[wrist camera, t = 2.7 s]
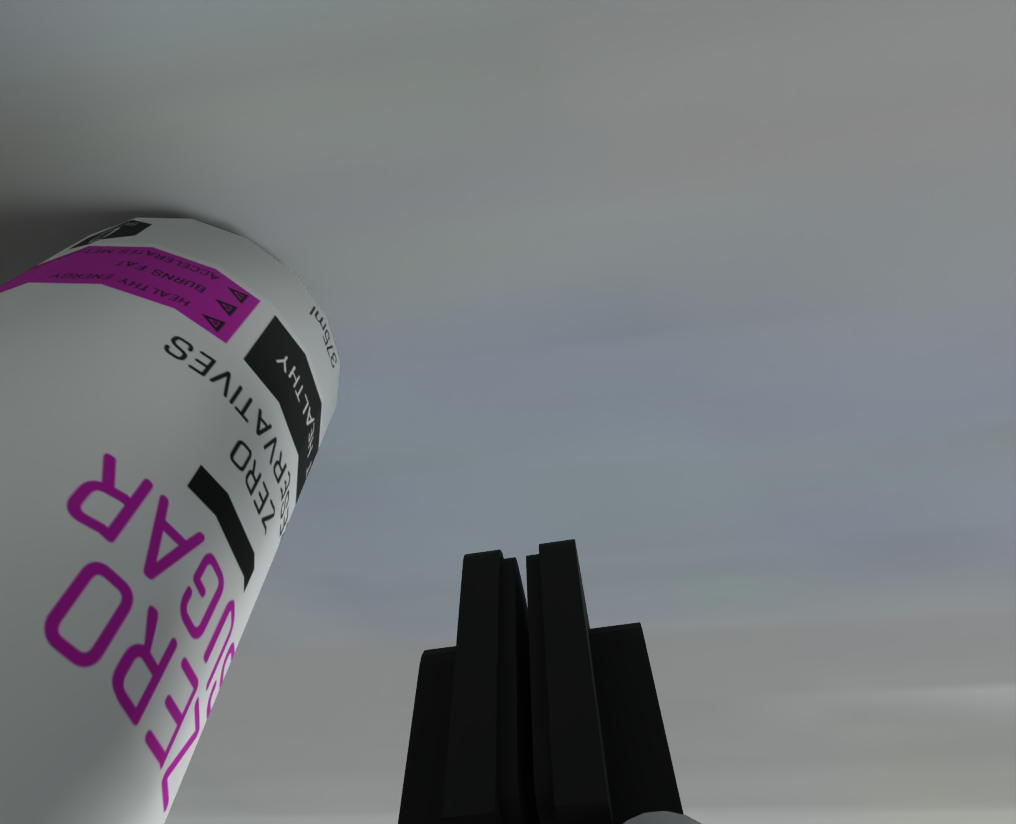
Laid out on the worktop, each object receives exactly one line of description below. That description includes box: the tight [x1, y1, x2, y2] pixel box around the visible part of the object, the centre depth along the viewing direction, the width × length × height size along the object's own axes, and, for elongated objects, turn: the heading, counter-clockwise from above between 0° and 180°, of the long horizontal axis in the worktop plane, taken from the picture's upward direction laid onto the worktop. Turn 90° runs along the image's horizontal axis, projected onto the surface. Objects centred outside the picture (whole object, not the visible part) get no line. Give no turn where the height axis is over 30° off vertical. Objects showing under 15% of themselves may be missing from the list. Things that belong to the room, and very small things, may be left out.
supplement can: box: [0, 218, 340, 824], centre depth 14 cm, size 8×8×15 cm
